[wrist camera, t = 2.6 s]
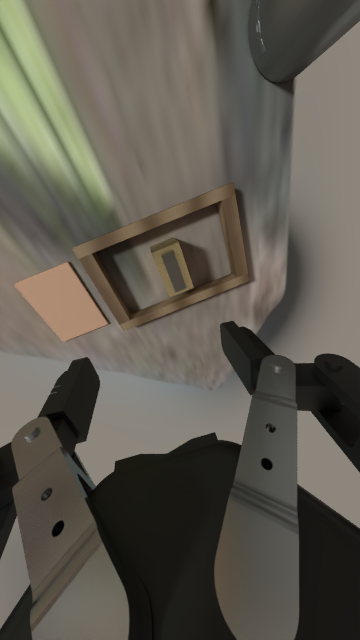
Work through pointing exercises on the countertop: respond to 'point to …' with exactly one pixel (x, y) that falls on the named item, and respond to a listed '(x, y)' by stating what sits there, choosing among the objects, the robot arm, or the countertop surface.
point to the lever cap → (172, 266)
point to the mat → (62, 301)
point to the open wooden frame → (220, 195)
